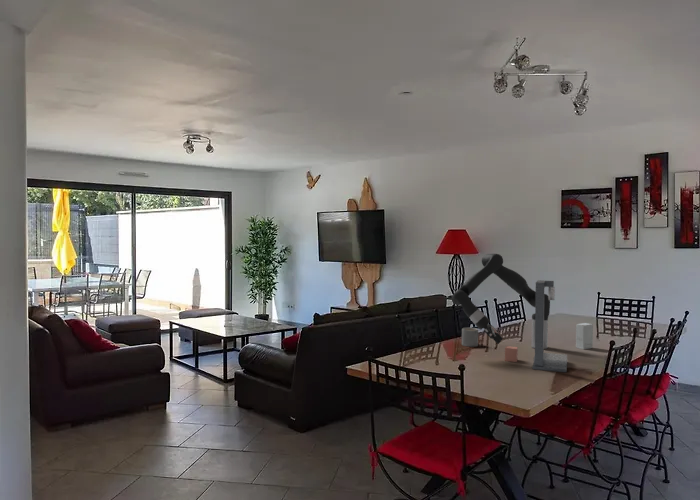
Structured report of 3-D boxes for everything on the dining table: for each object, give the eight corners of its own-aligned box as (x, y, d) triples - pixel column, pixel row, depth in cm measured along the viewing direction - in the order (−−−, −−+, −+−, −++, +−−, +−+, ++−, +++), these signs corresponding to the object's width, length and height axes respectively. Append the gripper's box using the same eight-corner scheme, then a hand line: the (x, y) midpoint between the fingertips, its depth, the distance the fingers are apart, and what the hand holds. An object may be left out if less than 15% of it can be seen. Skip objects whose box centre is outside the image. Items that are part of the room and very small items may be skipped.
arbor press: (535, 359, 286) (536, 279, 285) (567, 362, 280) (568, 280, 279) (532, 369, 264) (533, 282, 263) (566, 372, 258) (567, 283, 257)
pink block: (506, 358, 287) (506, 346, 287) (517, 359, 285) (517, 347, 285) (505, 360, 282) (505, 348, 282) (516, 361, 280) (516, 349, 280)
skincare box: (584, 346, 321) (585, 322, 321) (593, 348, 316) (593, 324, 315) (575, 347, 317) (575, 323, 317) (583, 349, 312) (583, 325, 312)
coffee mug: (474, 347, 318) (474, 330, 317) (459, 345, 323) (459, 329, 323) (482, 343, 328) (482, 327, 328) (467, 341, 334) (467, 326, 334)
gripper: (482, 316, 282) (504, 339, 278) (486, 313, 295) (507, 334, 291) (472, 325, 285) (493, 348, 280) (477, 321, 298) (497, 343, 293)
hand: (500, 341), depth 286 cm, fingers open, 8 cm apart
